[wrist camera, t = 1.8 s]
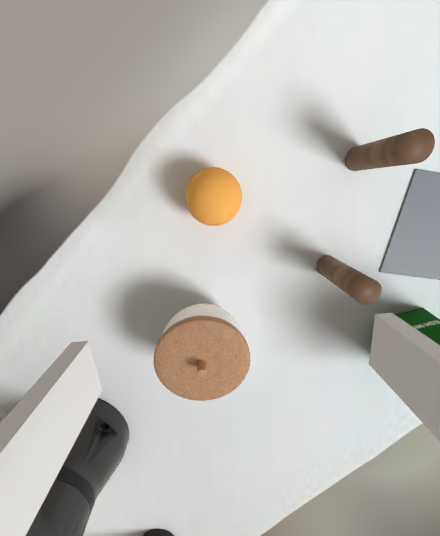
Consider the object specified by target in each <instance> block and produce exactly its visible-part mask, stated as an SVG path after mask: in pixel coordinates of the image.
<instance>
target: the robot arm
mask: <svg viewBox="0 0 440 536" xmlns="http://www.w3.org/2000/svg"><path fill="white" fill-rule="evenodd" d="M369 364H370V366H371V367H372V368H373V369H374V370H375V371H376V372H377V373H378V374H379V375H380V376H381V378H382V379H383V380H384V381H385V382H386V383H387V384H388V385H389V386H390V387H391V388H392V390H393V391H394V392H395V393H396V394H397V395H398V396H399V397H400V398H401V399H402V400H403V402H404V403H405V404H406V405H407V406H408V407H409V408H410V409H411V410H412V411H413V413H414V414H415V415H416V416H417V417H418V418H419V419H420V420H421V421H422V422H423V423H424V425H425V426H426V427H427V428H428V429H429V430H430V431H431V432H432V433H433V434H434V435H435V437H436V438H437V439H438V440H439V441H440V345H439V344H437V343H436V342H434V341H433V340H431V339H430V338H428V337H427V336H425V335H424V334H422V333H421V332H419V331H418V330H416V329H415V328H414V327H412V326H411V325H409V324H408V323H406V322H405V321H403V320H402V319H400V318H399V317H397V316H396V315H394V314H393V313H382V314H375V320H374V328H373V335H372V343H371V351H370V359H369ZM101 391H102V386H101V383H100V379H99V376H98V372H97V369H96V365H95V362H94V358H93V354H92V351H91V347H90V344H89V341H83V342H72V343H71V344H70V345H69V346H68V347H67V348H66V349H65V351H64V352H63V353H62V354H61V355H60V356H59V357H58V358H57V360H56V361H55V362H54V363H53V364H52V365H51V366H50V367H49V369H48V370H47V371H46V372H45V373H44V374H43V375H42V376H41V378H40V379H39V380H38V381H37V382H36V383H35V384H34V385H33V387H32V388H31V389H30V390H29V391H28V392H27V393H26V394H25V396H24V397H23V398H22V399H21V400H20V401H19V402H18V403H17V405H16V406H15V407H14V408H13V409H12V410H11V411H10V413H9V414H8V415H7V416H6V417H5V418H4V419H3V420H2V422H1V423H0V536H83V534H84V531H85V528H86V525H87V522H88V519H89V516H90V514H91V511H92V508H93V505H94V503H95V500H96V498H97V496H98V495H99V493H100V492H101V490H102V489H103V487H104V486H105V484H106V483H107V481H108V480H109V478H110V477H111V475H112V474H113V472H114V471H115V469H116V468H117V466H118V465H119V463H120V462H121V460H122V458H123V456H124V453H125V450H126V447H127V443H128V440H129V429H128V425H127V423H126V421H125V419H124V418H123V416H122V415H121V414H120V413H119V412H118V411H117V410H116V409H115V408H114V407H112V406H111V405H110V404H108V403H106V402H104V401H102V400H100V399H98V397H99V395H100V393H101Z"/></svg>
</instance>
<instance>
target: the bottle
mask: <svg viewBox="0 0 440 536" xmlns="http://www.w3.org/2000/svg"><path fill="white" fill-rule="evenodd" d="M144 536H173V535H172V534H171V533H170V532H168V531H165V530H153V531H149V532H147V533H146V534H145V535H144Z"/></svg>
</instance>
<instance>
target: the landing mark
mask: <svg viewBox="0 0 440 536" xmlns="http://www.w3.org/2000/svg"><path fill="white" fill-rule="evenodd" d="M379 272H383V273H391V274H399V275H406V276H414V277H422V278H430V279H438V280H440V173H436V172H430V171H424V170H418V169H415V171H414V174H413V177H412V180H411V183H410V186H409V189H408V191H407V194H406V197H405V200H404V203H403V206H402V208H401V211H400V214H399V217H398V220H397V223H396V226H395V228H394V231H393V234H392V237H391V240H390V243H389V245H388V248H387V251H386V254H385V257H384V260H383V263H382V265H381V268H380V271H379Z"/></svg>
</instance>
